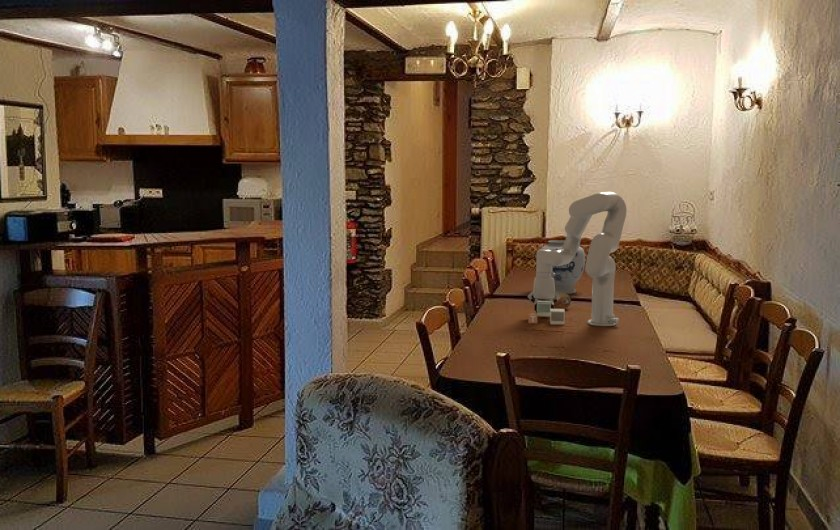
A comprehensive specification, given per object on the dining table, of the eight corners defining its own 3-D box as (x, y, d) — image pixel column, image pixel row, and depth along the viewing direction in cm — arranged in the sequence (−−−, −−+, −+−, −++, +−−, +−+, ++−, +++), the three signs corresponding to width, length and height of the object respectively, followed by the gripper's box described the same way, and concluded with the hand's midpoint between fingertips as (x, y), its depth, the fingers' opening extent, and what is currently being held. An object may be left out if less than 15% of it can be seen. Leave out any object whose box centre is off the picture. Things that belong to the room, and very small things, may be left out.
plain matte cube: (550, 313, 356) (550, 301, 355) (550, 315, 350) (550, 303, 349) (537, 313, 357) (537, 300, 356) (536, 315, 351) (537, 303, 350)
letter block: (537, 321, 344) (537, 313, 343) (537, 323, 340) (537, 314, 339) (528, 321, 344) (528, 312, 344) (528, 323, 340) (528, 314, 340)
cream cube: (564, 321, 343) (564, 309, 342) (564, 324, 336) (564, 311, 336) (550, 321, 344) (550, 308, 343) (550, 324, 337) (550, 311, 337)
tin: (540, 307, 379) (541, 291, 378) (542, 306, 382) (543, 290, 381) (569, 310, 372) (569, 293, 371) (571, 309, 375) (571, 292, 374)
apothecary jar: (530, 289, 440) (530, 239, 436) (570, 287, 448) (570, 238, 444) (551, 296, 414) (552, 243, 411) (593, 293, 422) (594, 241, 419)
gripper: (562, 274, 353) (562, 311, 355) (526, 273, 356) (525, 310, 358) (562, 276, 346) (562, 314, 348) (525, 276, 349) (525, 313, 351)
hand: (543, 312), depth 353 cm, fingers closed on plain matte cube, 6 cm apart
